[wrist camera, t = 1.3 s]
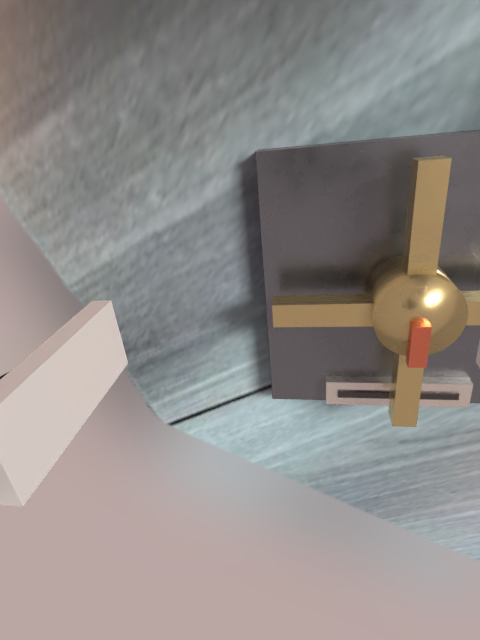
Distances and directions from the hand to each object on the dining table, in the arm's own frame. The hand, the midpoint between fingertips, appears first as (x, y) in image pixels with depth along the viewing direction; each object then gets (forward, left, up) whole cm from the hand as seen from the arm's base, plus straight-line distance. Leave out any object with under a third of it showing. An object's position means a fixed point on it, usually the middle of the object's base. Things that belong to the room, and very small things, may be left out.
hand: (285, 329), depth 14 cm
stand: (+6, +8, -20) cm, 23 cm away
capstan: (+6, +8, -18) cm, 21 cm away
